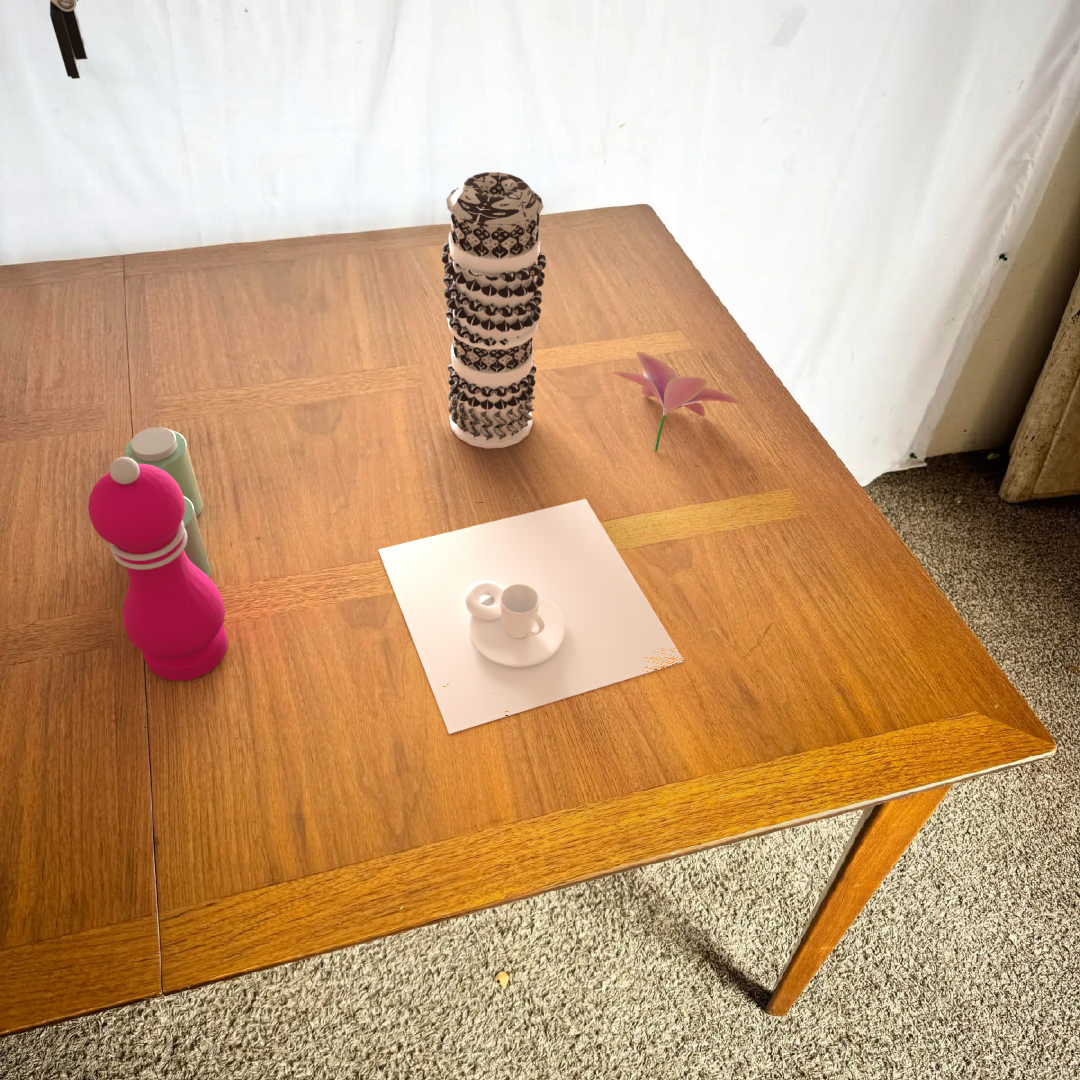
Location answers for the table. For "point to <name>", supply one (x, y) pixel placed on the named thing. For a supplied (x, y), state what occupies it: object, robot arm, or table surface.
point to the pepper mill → (159, 571)
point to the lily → (673, 388)
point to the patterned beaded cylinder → (493, 307)
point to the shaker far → (167, 459)
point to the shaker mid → (195, 540)
